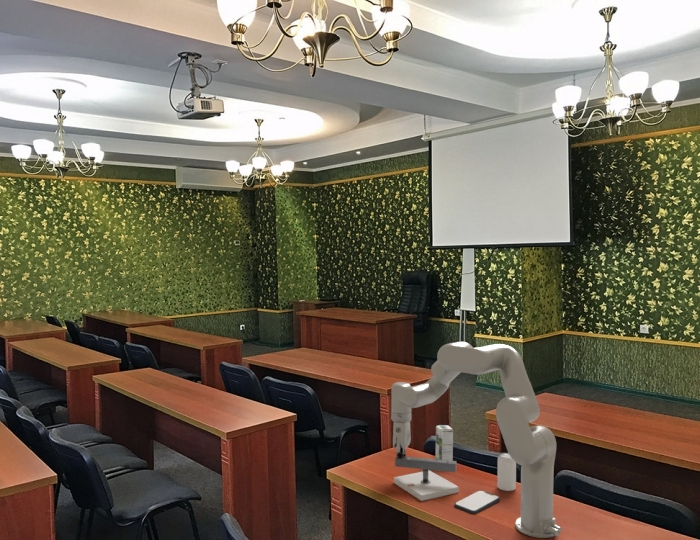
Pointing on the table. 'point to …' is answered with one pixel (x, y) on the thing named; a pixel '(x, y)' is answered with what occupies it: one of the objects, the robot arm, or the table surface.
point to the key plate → (426, 485)
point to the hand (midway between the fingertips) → (400, 464)
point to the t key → (426, 464)
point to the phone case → (477, 502)
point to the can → (506, 472)
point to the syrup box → (444, 442)
